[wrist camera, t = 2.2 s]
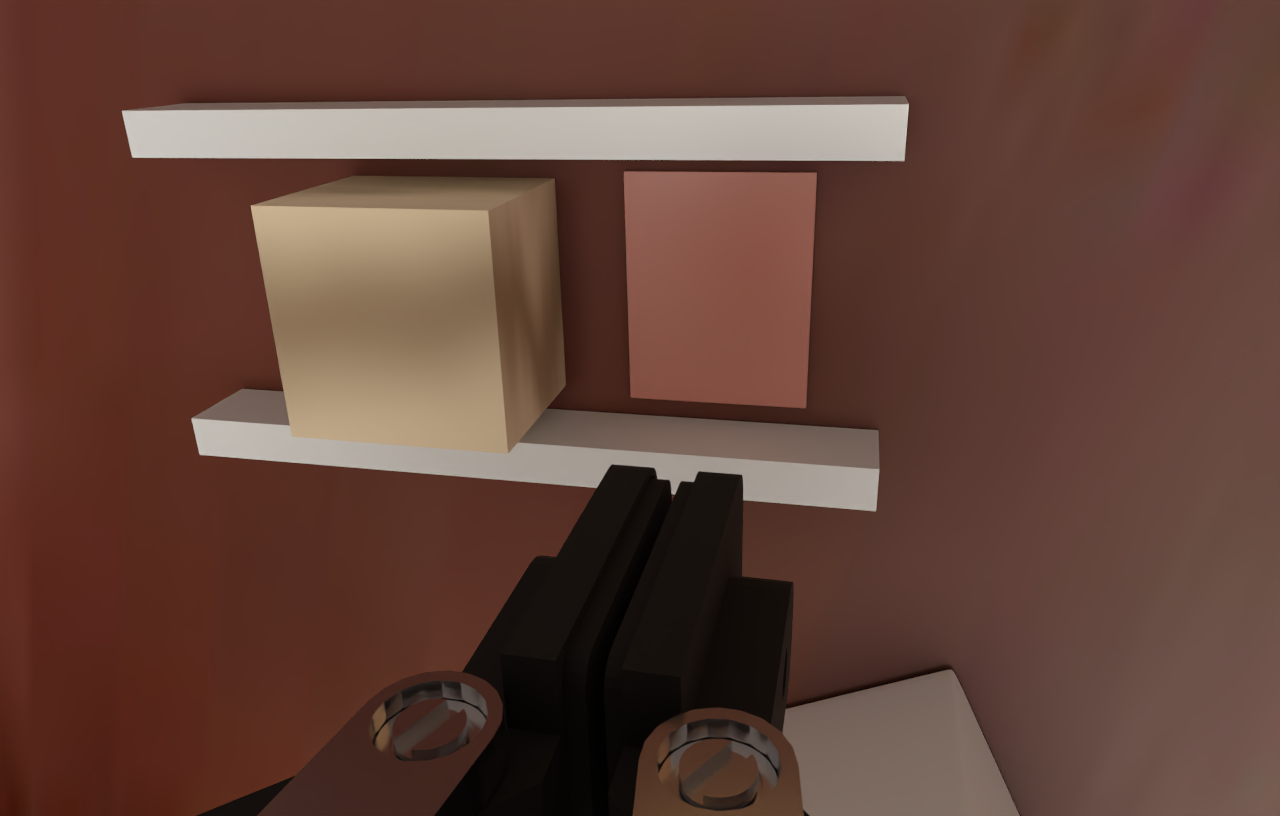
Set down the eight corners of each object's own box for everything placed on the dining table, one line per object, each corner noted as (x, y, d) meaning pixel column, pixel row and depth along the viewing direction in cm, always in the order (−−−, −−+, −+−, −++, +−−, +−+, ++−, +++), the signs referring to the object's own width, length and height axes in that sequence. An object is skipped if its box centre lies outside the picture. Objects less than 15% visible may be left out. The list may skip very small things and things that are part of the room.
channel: (875, 469, 26) (875, 511, 24) (249, 422, 30) (199, 454, 28) (904, 96, 22) (909, 104, 20) (184, 103, 27) (121, 110, 24)
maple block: (567, 383, 27) (508, 453, 23) (382, 371, 29) (291, 436, 24) (556, 177, 25) (487, 210, 21) (355, 174, 26) (250, 205, 22)
